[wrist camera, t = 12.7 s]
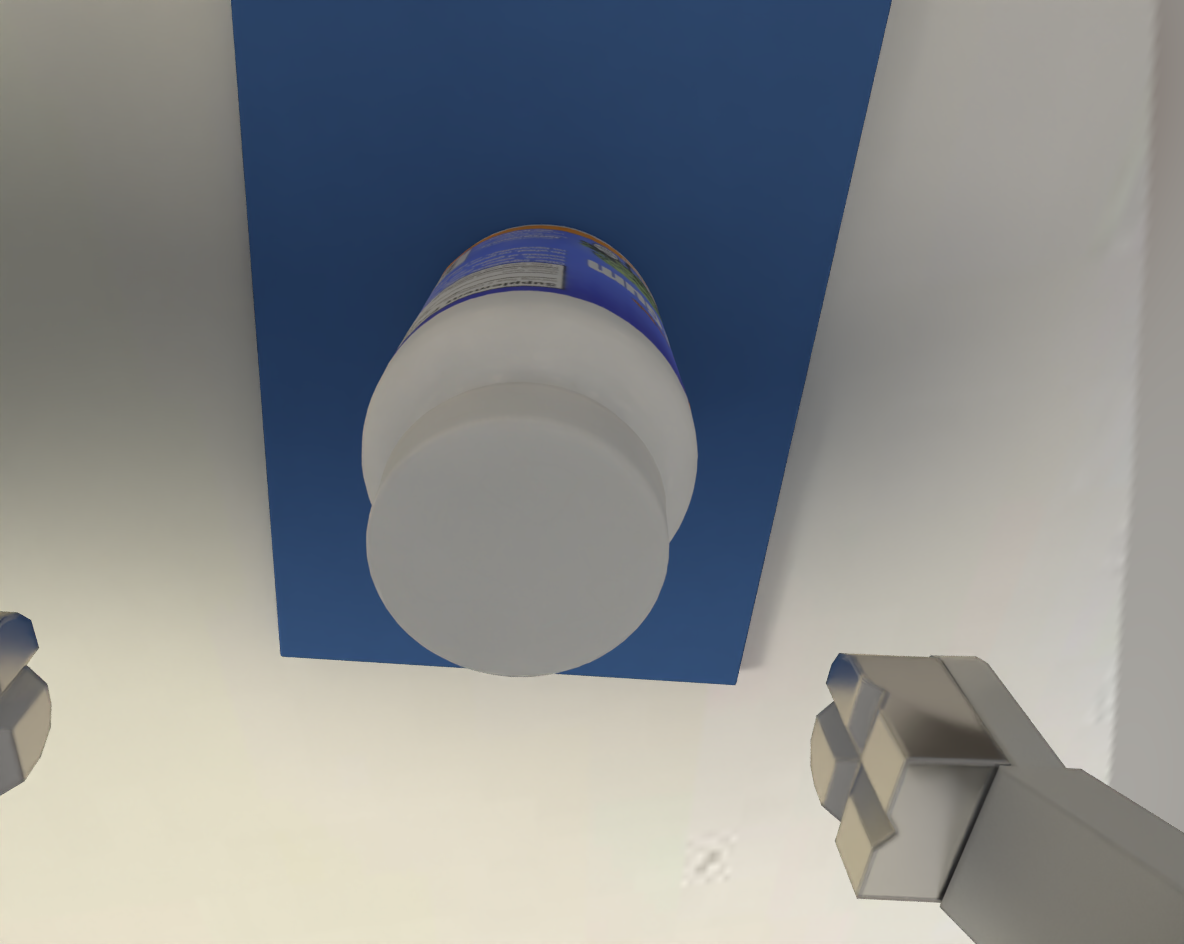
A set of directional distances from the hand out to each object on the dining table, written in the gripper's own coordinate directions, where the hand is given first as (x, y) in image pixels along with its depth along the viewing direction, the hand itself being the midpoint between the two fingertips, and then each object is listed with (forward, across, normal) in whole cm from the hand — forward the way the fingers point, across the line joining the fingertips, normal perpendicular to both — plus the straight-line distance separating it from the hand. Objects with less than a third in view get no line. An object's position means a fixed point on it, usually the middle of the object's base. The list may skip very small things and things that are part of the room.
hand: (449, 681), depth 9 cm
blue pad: (+13, -1, 0) cm, 13 cm away
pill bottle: (+12, -1, 0) cm, 12 cm away
